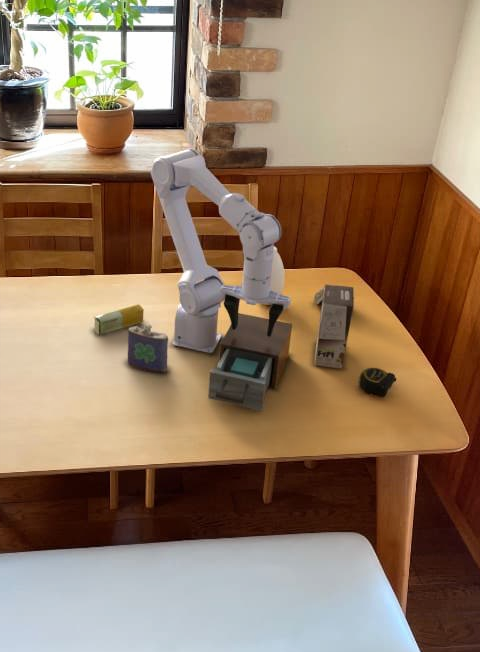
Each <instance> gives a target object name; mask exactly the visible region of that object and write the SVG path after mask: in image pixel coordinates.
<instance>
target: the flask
mask: <svg viewBox="0 0 480 652" xmlns="http://www.w3.org/2000/svg"><path fill="white" fill-rule="evenodd" d="M152 327H153V326H152V325H151V324H148V325H144V327H143V328H141V327H139V326H138V325H137V326H129V328H128V329H127V365H128V366H130V367H132V368H135V369H138V370H142V371H147V372H152V373H157V374H160V373H162V374H164V373H166V372H167V370H168V345H169V343H168V342H169V337H168V334H166V333H163V332H162V333H161V332H157V331H151V329H152Z"/></svg>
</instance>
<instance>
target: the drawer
mask: <svg viewBox="0 0 480 652" xmlns="http://www.w3.org/2000/svg"><path fill="white" fill-rule="evenodd" d="M236 358H241V359H246V360H250V361H255V362H259V364H258V374H257V379H255V378H251V377H246V376H242V375H237V374H233V373H230V370H231V368H232V366H233V364H234V362H235V360H236ZM274 359H275V358H271V357H267V356H262V355H257V354H252V353H248V352H243V351H238V350H233V349H229V348H227V349H226V350H225V352H224V354H223V356H222V358H221V360H220V362H219V361H218V363H217V365H216V369H215V368H211V369H210V371H209V378H208V379H209V380H208V393H207V395H208V397H207V399H209V400H213V401H218V402H222V403H225V404H230V405H234V406H239V407H243V408H247V409H252V410H256V411H261V412H262V411H263V408H264V404H265V395H266V392H267V390H268V388H267V387H268V385H269V383H270V380H271V378H272V375H273V367H274Z"/></svg>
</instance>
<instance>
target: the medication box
mask: <svg viewBox="0 0 480 652" xmlns="http://www.w3.org/2000/svg"><path fill="white" fill-rule="evenodd" d="M144 310H145V309H144V308H143V306H141V304H139V303H138V304H135V305H132V306H127V307H124V308H120V309H117V310H113V311H110V312H107V313H103V314H99V315H95V316H94V317H93V319H94V326H93V330H94V332H95V333H96V334H97V335H98V336H100V335H104V334H106V333H110V332H113V331H117V330H121V329H123V328H124V329H125V328H127V327H132V326H134V325H138V324H142V323H144V312H145V311H144Z"/></svg>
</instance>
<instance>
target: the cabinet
mask: <svg viewBox="0 0 480 652" xmlns="http://www.w3.org/2000/svg"><path fill="white" fill-rule="evenodd" d="M268 326H269V318H265V317H260V316H256V315H255V316H254V315H252V314H251V315H250V314H245V313H240V312H238V325H237V327H236V329H235V330H233V329H232V325H231V324H230V326H229V327H228V329H227V331H226V333H225V335H224V336H223V338H222V340H221V342H220V346H219V358H218V359H219V360H218V363H219V362H220V360H221V358H222V356H223V354H224V352H225V350H226V349H227V348H229V349H233V350H238V351H243V352H248V353H252V354H257V355H262V356H267V357H271V358H275V359H274V367H273V375H272V378H271V380H270V383H269V385H268V387H267V389H271V390H275V389H276V387H277V384H278V383H279V380H280V377H281V375H282V373H283V370H284V367H285V365H286V363H287V361H288V357H289V353H290V346H291V339H292V337H291V336H292V329H293V323H291V322H286V321H280V320H277V321H276V322H275V325H274V328H273V332H272V334H271V336H270V337H269V336H267V331H268Z"/></svg>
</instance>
